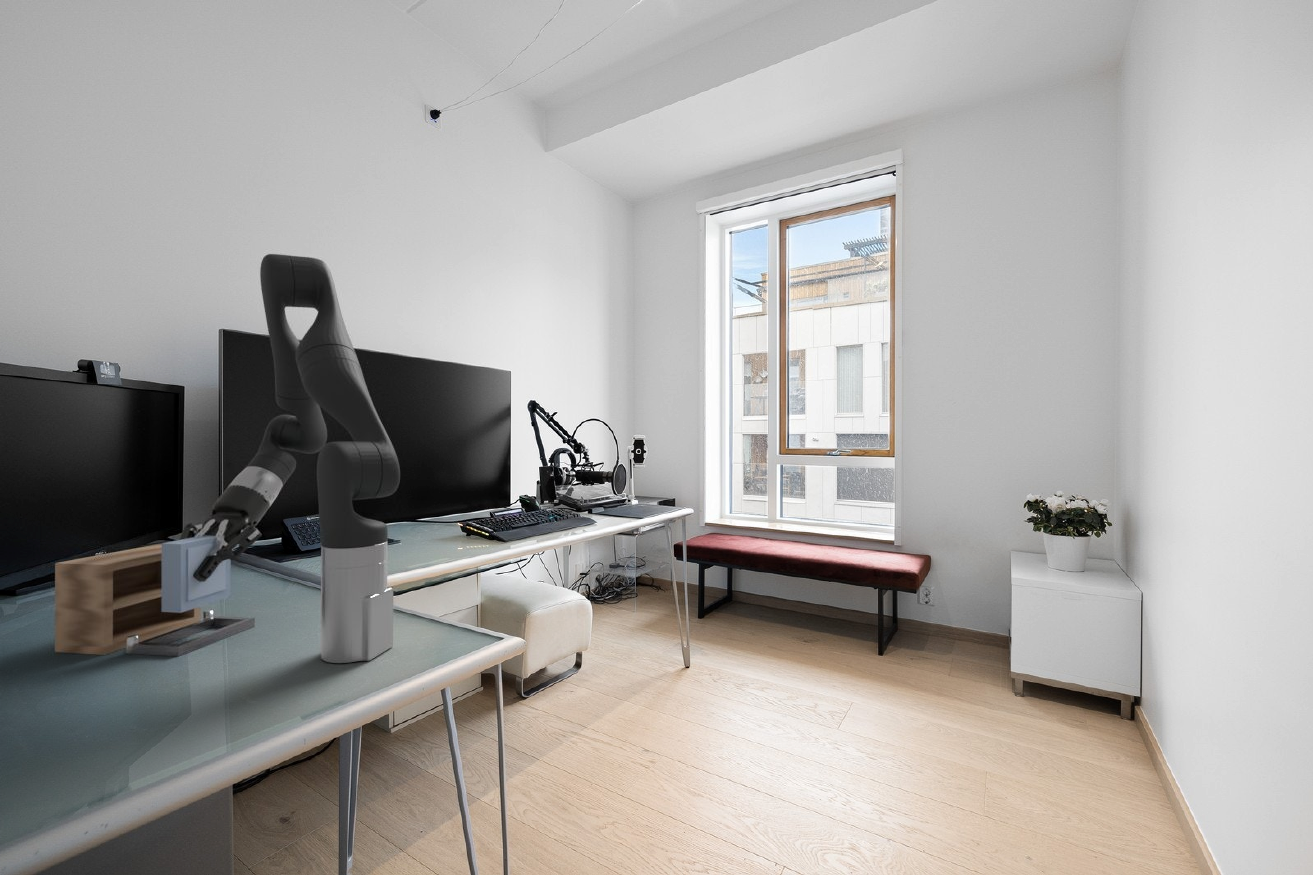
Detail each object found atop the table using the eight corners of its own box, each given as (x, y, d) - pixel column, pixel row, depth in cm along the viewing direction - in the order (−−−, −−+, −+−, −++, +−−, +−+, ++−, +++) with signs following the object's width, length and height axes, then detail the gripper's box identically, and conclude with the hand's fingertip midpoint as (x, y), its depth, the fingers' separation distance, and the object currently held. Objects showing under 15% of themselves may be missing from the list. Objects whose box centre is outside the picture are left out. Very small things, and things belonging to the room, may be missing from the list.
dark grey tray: (255, 625, 101) (255, 612, 101) (177, 656, 86) (177, 640, 86) (208, 623, 102) (208, 609, 102) (123, 653, 88) (123, 637, 88)
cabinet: (200, 621, 103) (200, 545, 103) (104, 654, 87) (104, 564, 87) (157, 619, 104) (157, 544, 104) (54, 652, 88) (55, 563, 88)
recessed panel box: (231, 596, 99) (231, 534, 98) (181, 612, 90) (181, 544, 90) (212, 595, 99) (212, 533, 99) (161, 611, 90) (161, 543, 90)
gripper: (202, 482, 102) (132, 564, 91) (272, 484, 101) (210, 568, 89) (227, 508, 108) (164, 588, 96) (295, 509, 106) (239, 592, 94)
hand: (187, 578), depth 92 cm, fingers closed on recessed panel box, 3 cm apart
